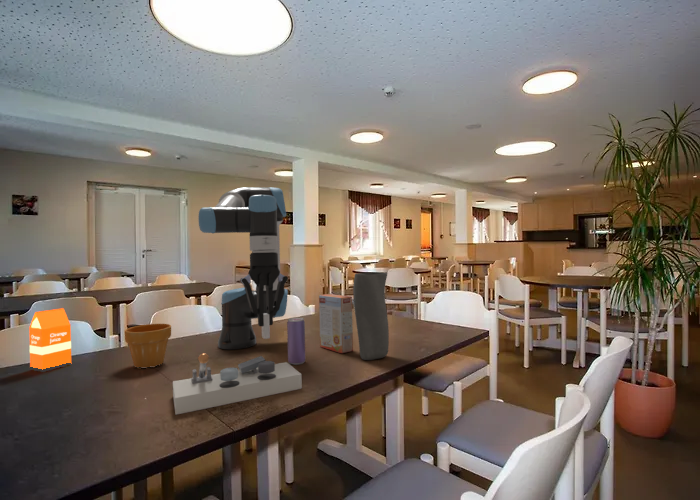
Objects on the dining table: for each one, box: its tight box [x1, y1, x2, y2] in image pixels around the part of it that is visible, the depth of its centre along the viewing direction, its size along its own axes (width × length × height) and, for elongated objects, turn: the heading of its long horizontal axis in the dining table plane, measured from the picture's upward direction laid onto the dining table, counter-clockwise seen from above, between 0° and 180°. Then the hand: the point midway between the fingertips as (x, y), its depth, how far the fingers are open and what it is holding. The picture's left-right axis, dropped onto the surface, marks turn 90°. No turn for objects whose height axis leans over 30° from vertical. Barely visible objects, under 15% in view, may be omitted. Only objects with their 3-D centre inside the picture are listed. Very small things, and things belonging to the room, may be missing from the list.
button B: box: [219, 367, 239, 381], centre depth 97 cm, size 4×4×2 cm
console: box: [172, 361, 303, 416], centre depth 102 cm, size 13×32×7 cm, turn 118°
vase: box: [352, 271, 390, 361], centre depth 131 cm, size 12×12×30 cm
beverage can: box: [286, 317, 307, 366], centre depth 127 cm, size 6×6×15 cm
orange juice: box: [28, 307, 72, 370], centre depth 128 cm, size 8×9×20 cm
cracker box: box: [318, 293, 354, 354], centre depth 143 cm, size 14×6×21 cm, turn 40°
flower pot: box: [124, 323, 172, 367], centre depth 128 cm, size 14×14×13 cm
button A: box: [258, 360, 276, 373], centre depth 102 cm, size 4×4×2 cm
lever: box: [197, 352, 210, 378], centre depth 97 cm, size 3×3×10 cm
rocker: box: [237, 355, 267, 373], centre depth 106 cm, size 4×7×1 cm, turn 118°
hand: (265, 337), depth 102 cm, fingers closed
